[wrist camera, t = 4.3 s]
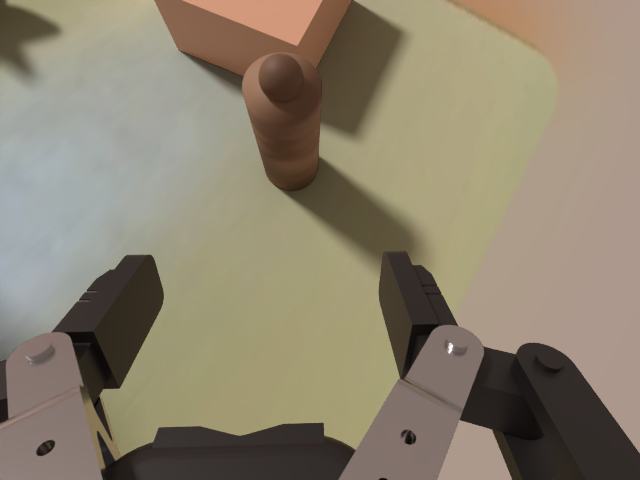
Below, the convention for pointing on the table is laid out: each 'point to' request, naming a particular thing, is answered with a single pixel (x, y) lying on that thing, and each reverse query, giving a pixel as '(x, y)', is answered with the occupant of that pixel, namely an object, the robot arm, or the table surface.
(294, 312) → the table surface
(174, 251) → the table surface
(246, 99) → the pepper mill
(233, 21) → the riser block
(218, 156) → the table surface
